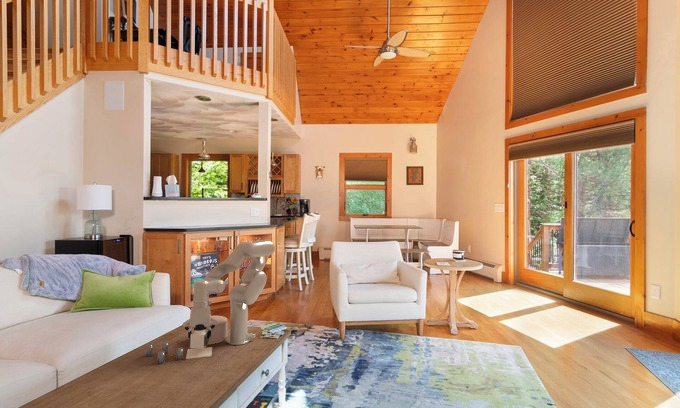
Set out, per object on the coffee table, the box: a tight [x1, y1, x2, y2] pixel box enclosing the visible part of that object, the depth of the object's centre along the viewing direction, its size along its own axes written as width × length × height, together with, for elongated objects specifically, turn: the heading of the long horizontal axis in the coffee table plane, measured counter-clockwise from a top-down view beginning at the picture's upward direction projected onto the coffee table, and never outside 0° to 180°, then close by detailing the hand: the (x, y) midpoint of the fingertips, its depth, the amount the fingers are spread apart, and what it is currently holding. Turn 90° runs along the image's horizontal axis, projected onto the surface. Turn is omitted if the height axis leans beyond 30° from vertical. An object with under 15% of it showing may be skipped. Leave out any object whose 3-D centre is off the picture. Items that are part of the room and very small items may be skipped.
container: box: [206, 315, 229, 345], centre depth 208 cm, size 18×18×12 cm
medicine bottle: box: [189, 324, 209, 349], centre depth 187 cm, size 7×7×12 cm
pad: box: [185, 346, 213, 360], centre depth 187 cm, size 12×12×1 cm
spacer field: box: [145, 341, 184, 365], centre depth 181 cm, size 18×16×5 cm
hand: (199, 338), depth 187 cm, fingers closed on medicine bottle, 8 cm apart
